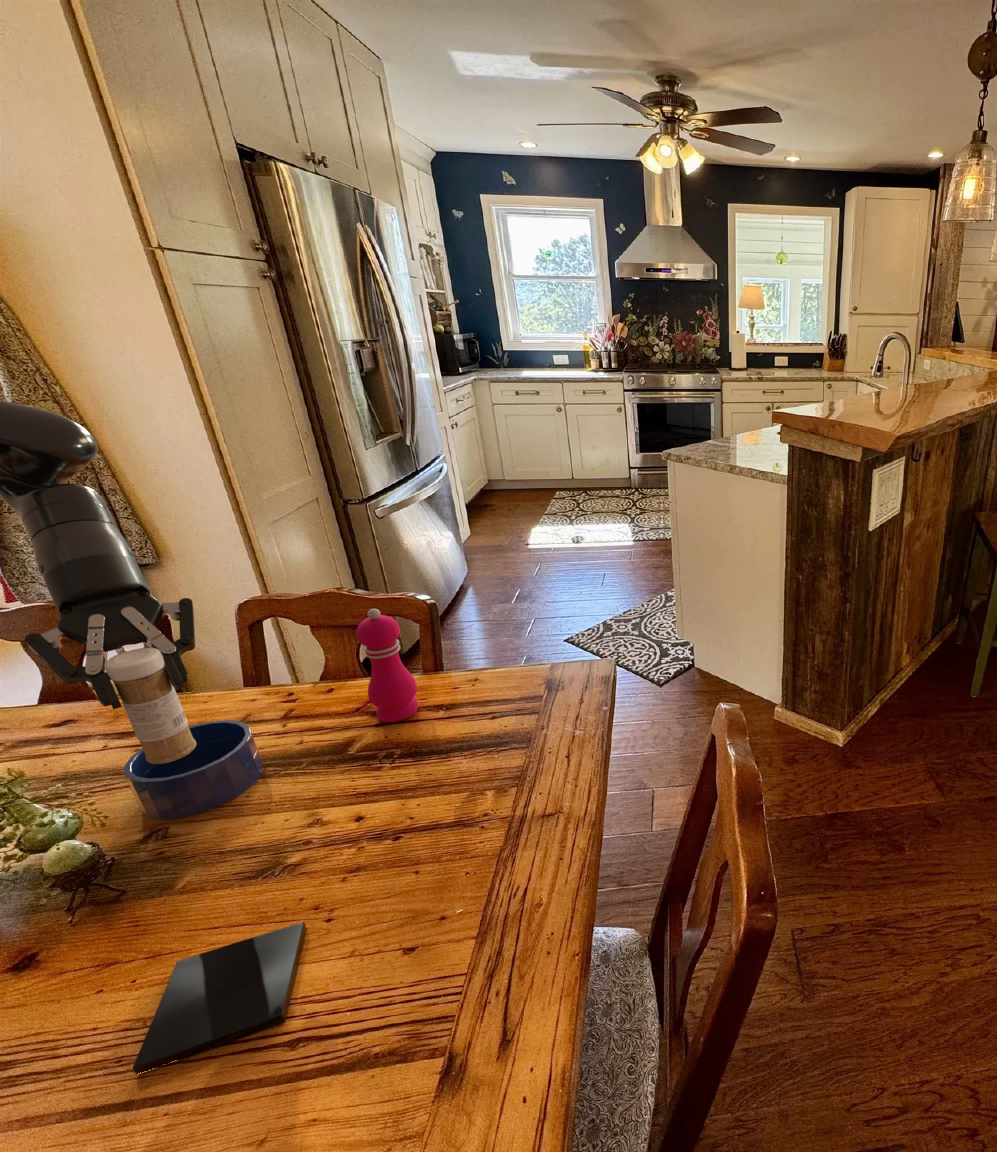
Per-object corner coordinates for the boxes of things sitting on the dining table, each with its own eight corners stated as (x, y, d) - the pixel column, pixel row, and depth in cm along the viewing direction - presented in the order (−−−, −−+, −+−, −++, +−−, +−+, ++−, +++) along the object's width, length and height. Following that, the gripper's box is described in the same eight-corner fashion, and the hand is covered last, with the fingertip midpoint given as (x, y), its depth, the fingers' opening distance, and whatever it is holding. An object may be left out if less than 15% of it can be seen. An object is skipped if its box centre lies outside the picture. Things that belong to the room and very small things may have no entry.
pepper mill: (393, 698, 110) (368, 598, 102) (430, 702, 109) (408, 601, 101) (364, 722, 103) (334, 617, 96) (403, 727, 102) (377, 621, 95)
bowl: (123, 831, 81) (104, 793, 78) (162, 768, 92) (147, 733, 89) (250, 801, 86) (236, 765, 84) (272, 745, 97) (260, 711, 95)
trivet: (136, 1076, 55) (131, 1068, 55) (180, 968, 64) (176, 960, 64) (285, 1022, 60) (282, 1014, 59) (307, 928, 69) (304, 921, 68)
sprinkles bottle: (170, 740, 75) (131, 645, 70) (207, 742, 75) (171, 646, 70) (135, 765, 71) (90, 666, 66) (174, 766, 71) (132, 667, 66)
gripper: (176, 568, 79) (230, 682, 76) (5, 602, 68) (62, 735, 66) (171, 538, 74) (228, 659, 71) (-14, 570, 63) (47, 714, 61)
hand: (148, 695), depth 69 cm, fingers closed on sprinkles bottle, 4 cm apart
